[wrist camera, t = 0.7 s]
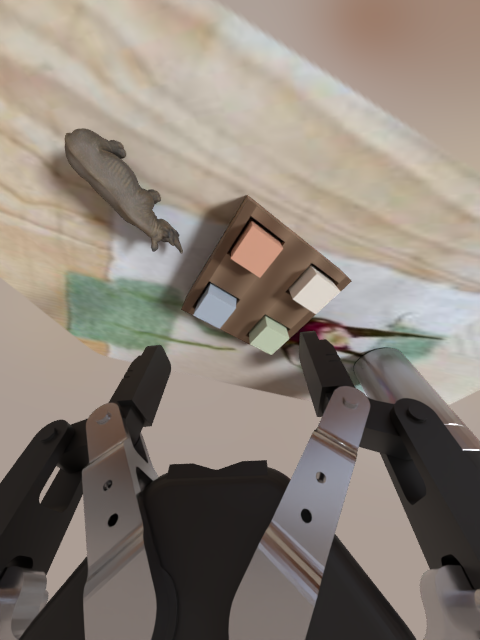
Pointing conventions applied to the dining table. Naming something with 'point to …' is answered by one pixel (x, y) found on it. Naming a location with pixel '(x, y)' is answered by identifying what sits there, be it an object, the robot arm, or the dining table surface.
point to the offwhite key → (313, 289)
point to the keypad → (272, 285)
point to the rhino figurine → (117, 183)
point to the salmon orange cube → (255, 248)
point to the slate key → (215, 305)
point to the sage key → (268, 335)
